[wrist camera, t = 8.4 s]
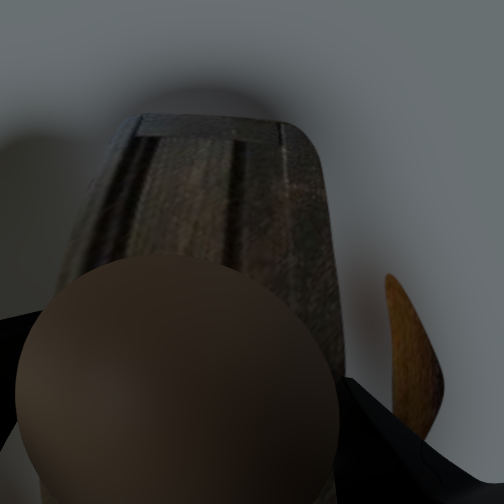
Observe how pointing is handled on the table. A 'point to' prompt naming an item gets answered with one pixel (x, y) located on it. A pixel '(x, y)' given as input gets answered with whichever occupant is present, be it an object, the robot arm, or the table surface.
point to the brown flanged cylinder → (175, 390)
